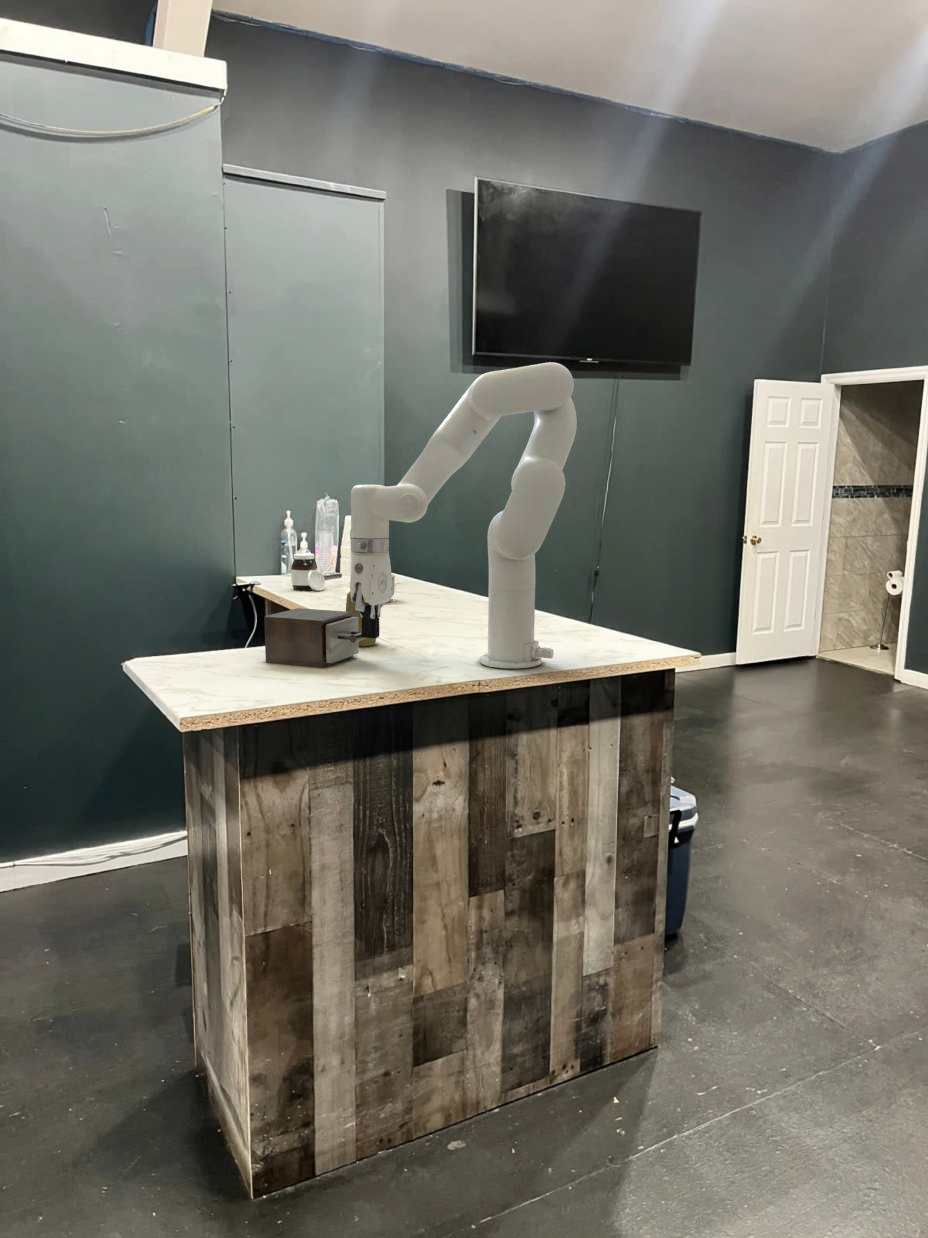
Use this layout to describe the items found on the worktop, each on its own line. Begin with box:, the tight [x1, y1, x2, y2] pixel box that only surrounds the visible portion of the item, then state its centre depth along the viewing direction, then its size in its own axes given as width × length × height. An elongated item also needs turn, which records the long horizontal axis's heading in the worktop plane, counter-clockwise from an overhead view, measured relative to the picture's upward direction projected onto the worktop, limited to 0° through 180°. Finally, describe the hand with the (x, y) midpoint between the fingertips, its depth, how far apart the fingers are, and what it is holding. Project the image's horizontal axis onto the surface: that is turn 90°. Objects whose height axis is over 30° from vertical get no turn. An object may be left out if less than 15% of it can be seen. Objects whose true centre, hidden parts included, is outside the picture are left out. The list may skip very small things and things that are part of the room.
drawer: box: [324, 617, 366, 664], centre depth 191 cm, size 17×11×8 cm
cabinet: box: [263, 607, 354, 668], centre depth 192 cm, size 14×13×10 cm
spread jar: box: [290, 553, 326, 592], centre depth 307 cm, size 12×11×12 cm
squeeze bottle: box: [345, 591, 380, 647], centre depth 208 cm, size 8×8×18 cm
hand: (370, 637), depth 187 cm, fingers closed
